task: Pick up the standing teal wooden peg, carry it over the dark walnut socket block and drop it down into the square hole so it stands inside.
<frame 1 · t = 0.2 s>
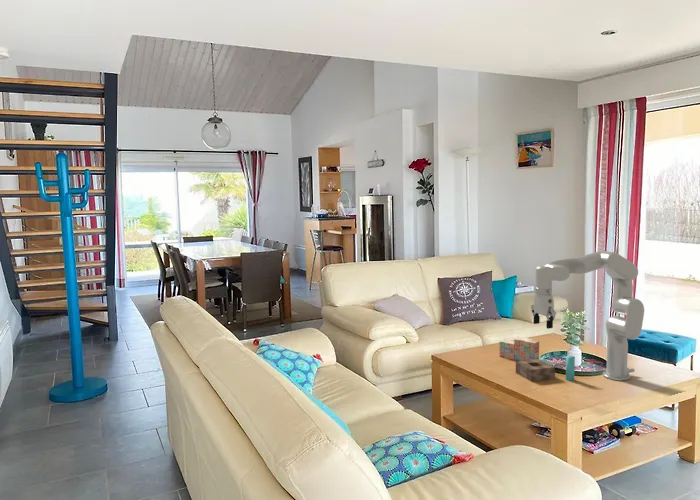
hand: (542, 325, 259), 31 cm above the table, tool pointing down, fingers open, 9 cm apart
peg: (569, 379, 271), on the table
socket block: (534, 375, 278), on the table
stack of blocks: (518, 359, 307), on the table
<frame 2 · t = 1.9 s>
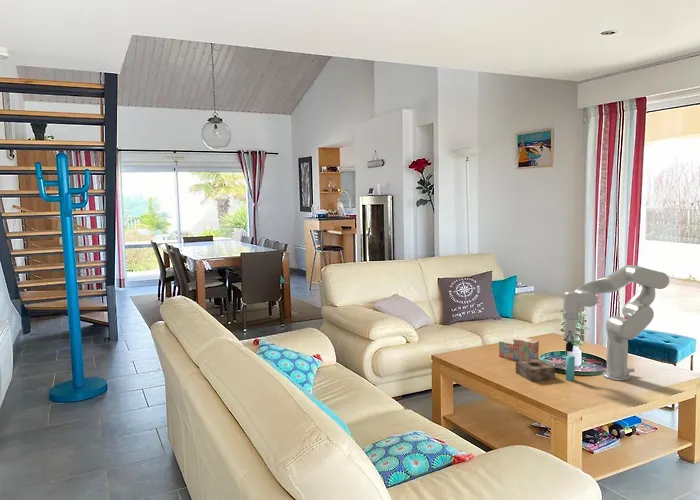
hand: (569, 348, 270), 16 cm above the table, tool pointing down, fingers open, 9 cm apart
nothing on the table moved.
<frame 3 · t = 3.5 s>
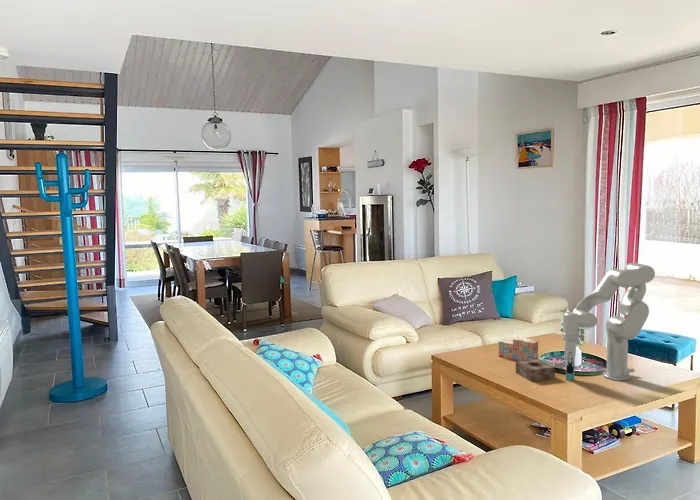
hand: (570, 371, 271), 4 cm above the table, tool pointing down, fingers closed on peg, 4 cm apart
peg: (569, 379, 271), on the table, touching gripper
everything else where it was.
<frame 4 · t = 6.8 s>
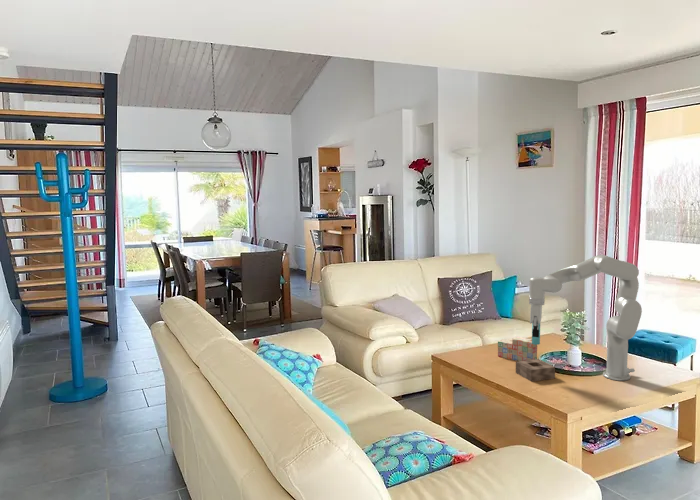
hand: (536, 335, 276), 22 cm above the table, tool pointing down, fingers closed on peg, 4 cm apart
peg: (535, 343, 277), point 17 cm above the table, touching gripper
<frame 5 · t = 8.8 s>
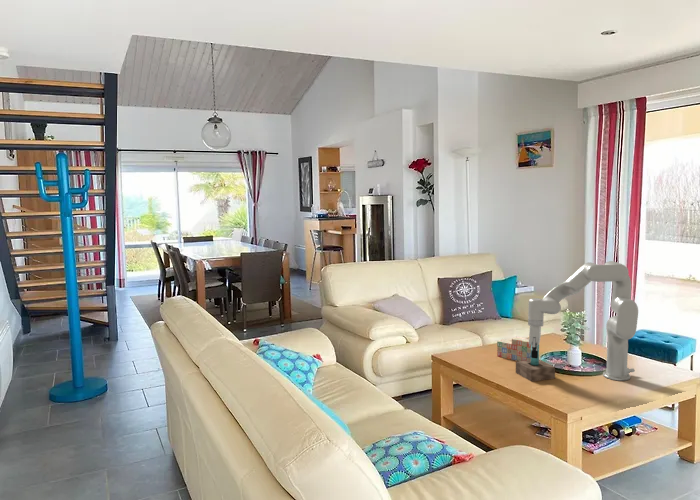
hand: (534, 356, 277), 10 cm above the table, tool pointing down, fingers closed on peg, 4 cm apart
peg: (534, 364, 278), point 6 cm above the table, touching gripper
when the fingers open (9 cm above the table, at t = 10.2 s): peg drops 4 cm, resting in socket block.
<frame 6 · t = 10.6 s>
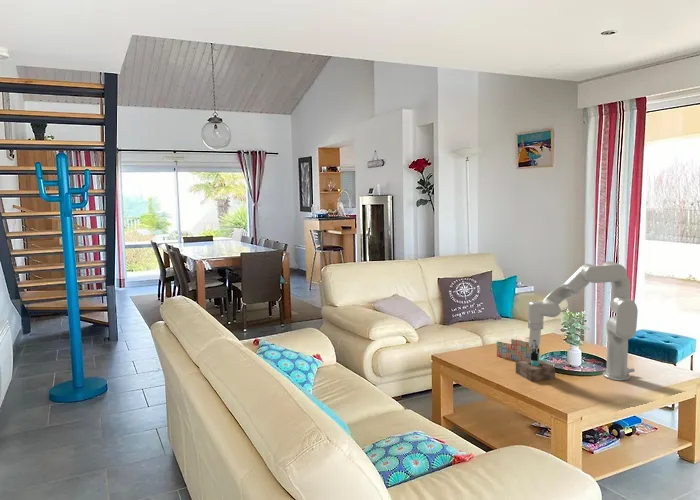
hand: (535, 357, 277), 9 cm above the table, tool pointing down, fingers open, 8 cm apart
peg: (535, 375, 278), resting in socket block
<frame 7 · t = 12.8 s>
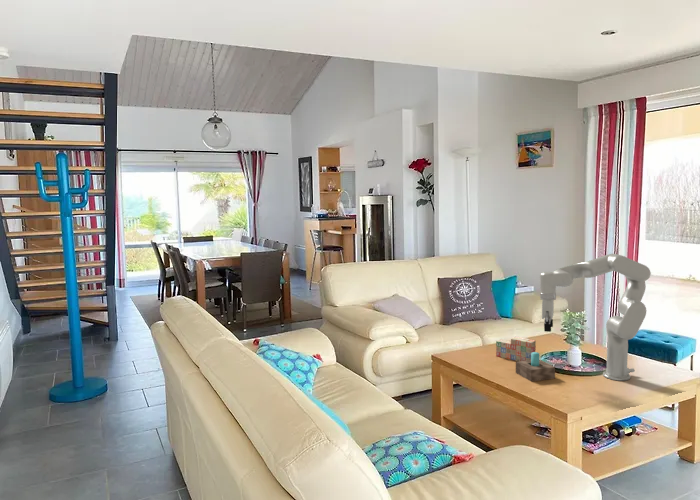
hand: (548, 329, 273), 26 cm above the table, tool pointing down, fingers open, 9 cm apart
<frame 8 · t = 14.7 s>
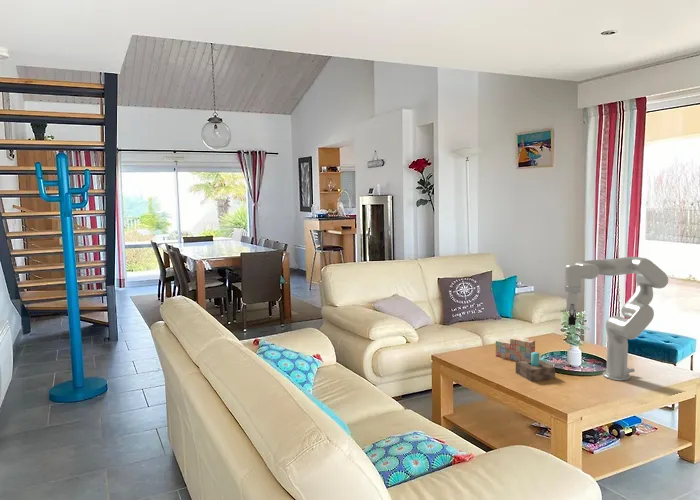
hand: (572, 322, 266), 30 cm above the table, tool pointing down, fingers open, 9 cm apart
at the end: peg 0.1 cm off-centre on the socket block, point 0.0 cm above the socket block's base; peg tilted 0°; the gripper is holding nothing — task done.
